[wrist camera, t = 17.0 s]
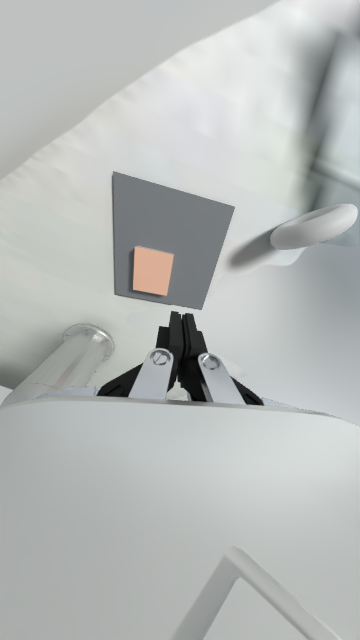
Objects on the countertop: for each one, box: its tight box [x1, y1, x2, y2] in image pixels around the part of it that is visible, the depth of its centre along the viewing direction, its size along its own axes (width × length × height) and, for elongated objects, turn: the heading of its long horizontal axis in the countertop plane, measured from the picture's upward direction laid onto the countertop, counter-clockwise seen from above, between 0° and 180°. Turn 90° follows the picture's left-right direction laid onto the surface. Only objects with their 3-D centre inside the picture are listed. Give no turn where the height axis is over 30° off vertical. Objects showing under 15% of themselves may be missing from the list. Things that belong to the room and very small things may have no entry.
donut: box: [270, 204, 358, 250], centre depth 22 cm, size 10×3×10 cm, turn 113°
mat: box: [113, 171, 235, 310], centre depth 28 cm, size 20×20×1 cm
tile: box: [133, 246, 174, 296], centre depth 28 cm, size 8×2×7 cm
